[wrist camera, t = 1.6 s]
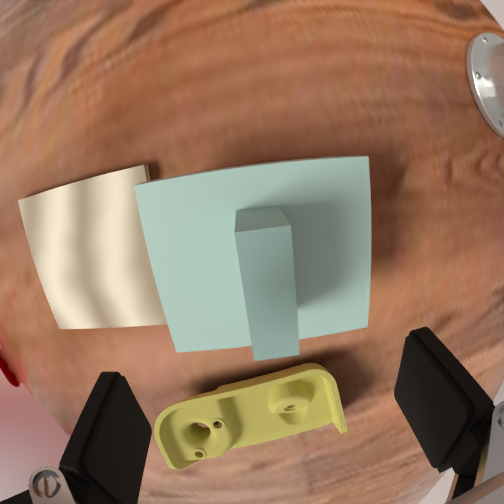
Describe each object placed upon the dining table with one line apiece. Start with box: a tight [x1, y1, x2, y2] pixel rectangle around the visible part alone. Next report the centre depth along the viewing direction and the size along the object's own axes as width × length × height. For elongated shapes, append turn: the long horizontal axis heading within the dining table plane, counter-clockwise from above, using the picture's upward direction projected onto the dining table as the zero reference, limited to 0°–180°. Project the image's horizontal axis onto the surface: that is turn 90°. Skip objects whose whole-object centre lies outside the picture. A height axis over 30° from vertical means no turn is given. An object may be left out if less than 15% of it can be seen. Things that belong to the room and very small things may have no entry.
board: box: [18, 164, 167, 329], centre depth 24 cm, size 14×14×1 cm
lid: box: [134, 155, 371, 361], centre depth 17 cm, size 14×12×6 cm
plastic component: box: [154, 363, 347, 469], centre depth 30 cm, size 20×7×10 cm
